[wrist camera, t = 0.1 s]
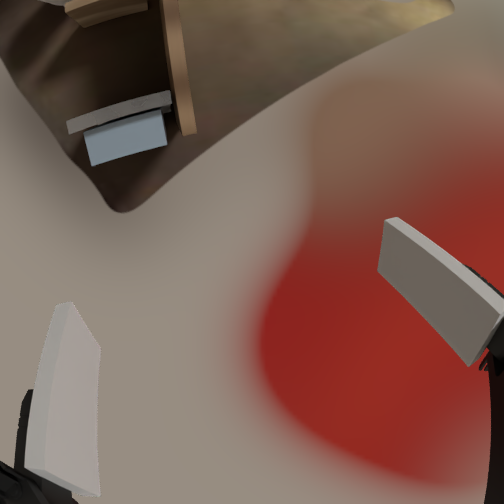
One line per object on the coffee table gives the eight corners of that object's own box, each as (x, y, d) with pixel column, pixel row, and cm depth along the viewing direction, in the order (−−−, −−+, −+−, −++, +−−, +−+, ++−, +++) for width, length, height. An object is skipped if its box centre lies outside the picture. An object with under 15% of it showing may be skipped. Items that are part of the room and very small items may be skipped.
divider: (83, 20, 21) (64, 3, 14) (147, 2, 22) (144, -21, 16) (84, 28, 22) (65, 12, 15) (148, 9, 23) (144, -12, 16)
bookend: (96, 112, 28) (66, 121, 18) (167, 93, 30) (169, 90, 20) (100, 130, 29) (72, 147, 19) (171, 111, 31) (174, 117, 21)
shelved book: (106, 121, 29) (83, 132, 20) (161, 106, 30) (160, 109, 21) (111, 145, 31) (91, 166, 22) (166, 131, 32) (167, 144, 23)
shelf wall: (154, -46, 18) (156, -93, 9) (164, -48, 19) (169, -95, 9) (176, 123, 32) (182, 135, 22) (186, 121, 32) (196, 132, 22)
